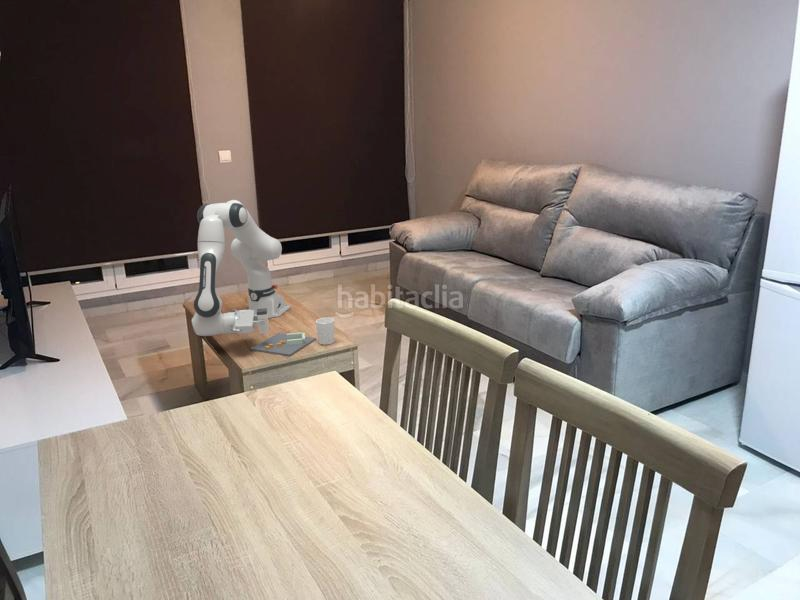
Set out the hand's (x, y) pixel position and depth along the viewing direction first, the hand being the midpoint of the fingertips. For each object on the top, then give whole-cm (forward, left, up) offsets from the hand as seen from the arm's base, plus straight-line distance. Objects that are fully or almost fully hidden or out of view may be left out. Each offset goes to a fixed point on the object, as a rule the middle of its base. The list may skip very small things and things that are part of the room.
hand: (265, 319), depth 279 cm
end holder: (-7, +9, -12) cm, 17 cm away
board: (-3, +6, -12) cm, 14 cm away
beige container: (0, -1, -6) cm, 6 cm away
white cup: (-12, +22, -12) cm, 28 cm away
